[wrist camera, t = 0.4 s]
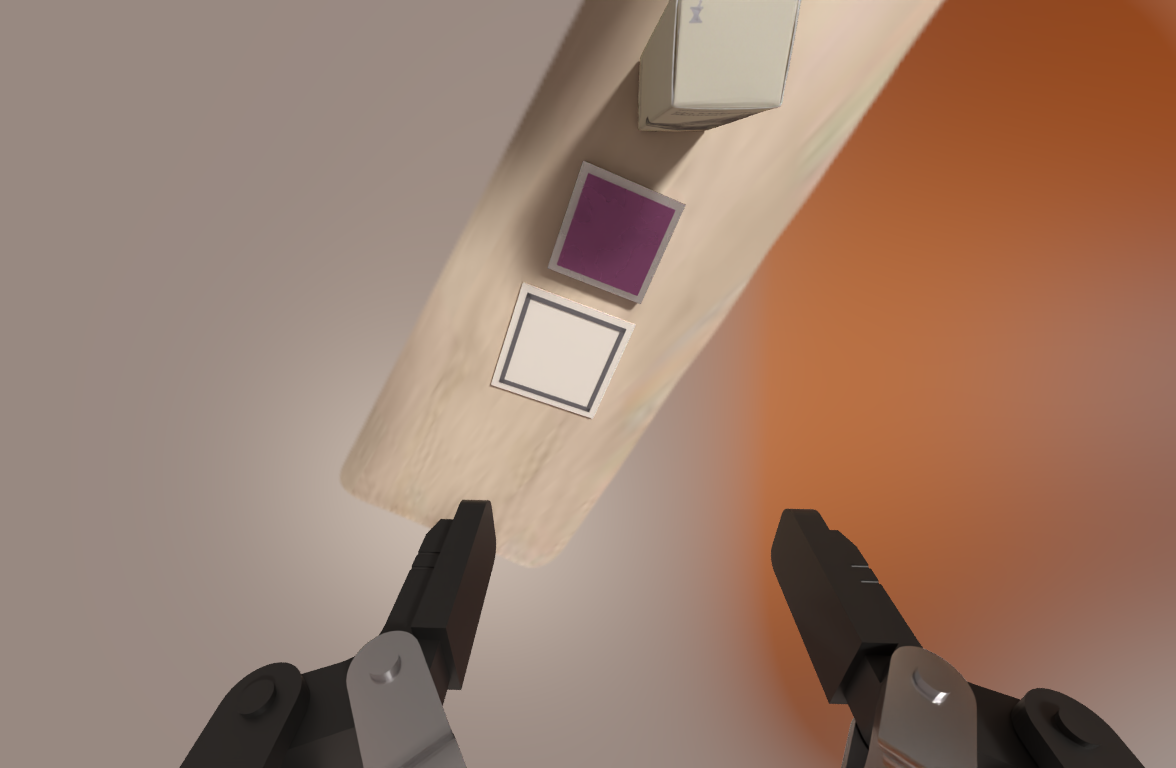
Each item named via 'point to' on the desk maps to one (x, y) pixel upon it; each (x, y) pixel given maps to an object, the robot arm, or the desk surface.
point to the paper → (560, 351)
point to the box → (715, 63)
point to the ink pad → (614, 233)
